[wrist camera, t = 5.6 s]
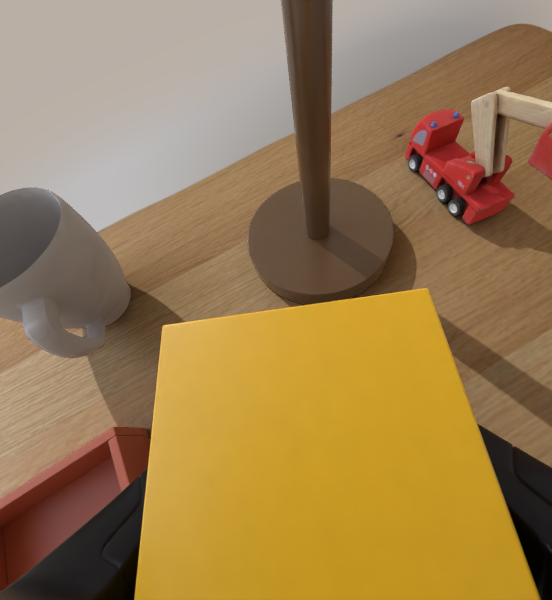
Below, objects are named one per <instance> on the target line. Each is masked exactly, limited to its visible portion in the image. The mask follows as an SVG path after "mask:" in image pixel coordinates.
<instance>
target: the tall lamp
mask: <svg viewBox="0 0 552 600" xmlns="http://www.w3.org/2000/svg"><path fill="white" fill-rule="evenodd" d="M332 3H333V0H281V5H282V14H283V24H284V34H285V42H286V53H287V62H288V72H289V81H290V90H291V100H292V109H293V119H294V128H295V138H296V147H297V157H298V166H299V176H300V182H296V183H293V184H291V185H288V186H286V187H284V188H282V189H280V190H279V191H277V192H276V193H274V194H273V195H272V196H270V197H269V198H268V199H267V200H266V201H265V202H264V203H263V204H262V205H261V206H260V207H259V209H258V210H257V211H256V213H255V215H254V216H253V219H252V221H251V223H250V226H249V230H248V238H247V242H248V250H249V254H250V257H251V259H252V262H253V264H254V266H255V269H256V271H257V273H258V275H259V277H260V278H261V280H262V281H263V282H264V283H265V285H266V286H267V287H269V288H270V289H271V290H272V291H273V292H275V293H276V294H278V295H279V296H281V297H283V298H285V299H287V300H290V301H293V302H296V303H300V304H305V305H310V304H317V303H324V302H331V301H338V300H345V299H350V298H353V297H355V296H356V295H358V294H360V293H362V292H363V291H364V290H366V289H367V288H369V287H370V286H371V285H372V284H373V283H374V282H375V281H376V279H377V278H378V277H379V276H380V274H381V273H382V271H383V269H384V267H385V265H386V262H387V259H388V256H389V253H390V250H391V248H392V244H393V238H394V228H393V222H392V219H391V216H390V213H389V212H388V210H387V208H386V206H385V205H384V204H383V202H382V201H381V200H380V199H379V198H378V197H377V196H376V195H375V194H373V193H372V192H371V191H370V190H368V189H366V188H364V187H363V186H361V185H358V184H356V183H353V182H350V181H347V180H342V179H336V178H330V164H331V87H332V9H333V4H332Z"/></svg>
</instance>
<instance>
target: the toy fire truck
mask: <svg viewBox="0 0 552 600" xmlns="http://www.w3.org/2000/svg"><path fill="white" fill-rule="evenodd" d="M471 113H472V124H473V137H474V148H475V151H474V152H472V153H471V154H469V153H468V152H467V151H466V150H465V149H463V147H461V146H460V145H459V144H458V143H457V142H455V140H456V138H457V135H458V133H459V130H460V127H461V125H462V122H463V120H464V118H463V116H462V115H461V114H459V112H457V111H455V110H441V111H436V112H433V113H430V114H428V115H427V116H425V117H424V118H423V119H422V120H421V121H420V122H419V123H418V124H417V126H416V127H415V129H414V131H413V133H412V135H411V138H410V143H409V144H408V148H407V152H406V155H405V157H406V159H407V160H409V162H408V165H409V168H410V170H411V171H413V172H416V171H418V170H419V173H420V174H421V175H422V176H423V177H424V178H425V179H426V180H427V181H428V183H429V184H430V185H432V187H433V188H434V189H435V190H437V198H438V200H439V201H441V202H447V201H449V200H450V198H451V199H452V200H451V201H450V202H449V204H448V210H449V212H450V214H451V215H453V216H458V215H461V214H462V213H464V214H463V216H462V219H463V220H464V222H465V223H466V224H468V225H470V224H473V223H475V222H478V221H480V220H482V219H485V218H487V217H489V216H492V215H494V214H497V213H499V212H501V211H502V210H503V209H504V208H505V207H506V205H507V204H508V203H509V202H510V200H511V199H512V198H514V195H515V194H514V193H513V192H511V191H510V190H509V189H508V188H507V187H506V186H505V185H504V184H503V183H501V182H500V180H501V178H502V177H503V175H504V174H505V173H506V172H507V170H508V169H509V167H510V165H511V163H512V159H511V158H510V157H509V156H507V155H506V146H507V136H508V127H509V118H512V119H515V120H518V121H521V122H524V123H527V124H530V125H533V126H537V127H540V128H543V129H545V130H544V132H543V133H542V136H541V137H540V139H539V141H538V143H537V145H536V147H535V148H534V150H533V152H532V154H531V156H530V159H529V160H528V162H529V164H530V165H531V166H533V167H535V168H536V169H537V170H539V171H540V172H541V173H542V174H544V175H545V176H547V177H548V178H550V179H551V180H552V102H549V101H544V100H539V99H536V98H532V97H529V96H524V95H520V94H517V93H512V92H511V90H510V88H509V87H504V88H502V89H499V90H497V91H495V92H491V93H488V94H486V95H484V96H482V97H479V98H477V99H475V100H473V101H472V102H471Z"/></svg>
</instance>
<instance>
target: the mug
mask: <svg viewBox="0 0 552 600" xmlns="http://www.w3.org/2000/svg"><path fill="white" fill-rule="evenodd" d="M130 297H131V290H130V287H129V285H128V283H127V282H126V280H125V277H124V274H123V272H122V269H121V267H120V265H119V263H118V261H117V259H116V257H115V256H114V254H113V252H112V251H111V250H110V248H109V247H108V245H107V244H106V243H105V241H104V240H103V239H102V238H101V237H100V235H99V234H98V233H97V232H96V231H95V230H94V229H93V228H92V227H91V225H90V224H89V223H88V222H87V221H86V220H84V218H83V217H82V216H81V215H79V214H78V213H77V212H76V211H75V210H74V209H73V208H72V207H71V206H70V205H69V204H68V203H66V202H65V201H64V200H63V199H62V198H60V197H59V196H58V195H56V194H55V193H53V192H51V191H49V190H44V189H40V188H22V189H17V190H14V191H10V192H7V193H4V194H2V195H0V317H2V318H5V319H9V320H13V321H17V322H21V323H23V328H24V332H25V334H26V335H27V337H28V338H29V339H30V340H31V341H32V342H33V343H34V344H35V345H37V346H38V347H40V348H41V349H43V350H45V351H47V352H49V353H51V354H54V355H57V356H60V357H64V358H78V357H83V356H87V355H89V354H91V353H93V352H95V351H97V350H98V349H100V348H101V347H102V346H103V345H104V344H105V342H106V332H105V326H108V325H110V324H111V323H113V322H115V321H116V320H117V319H118V318H119V317H120V316H121V315H122V314H123V313H124V312H125V310H126V308H127V307H128V304H129V302H130ZM72 328H86V329H87V337H79V336H76V335H74V334H71V333H69V332H67V331H66V330H65V329H72Z"/></svg>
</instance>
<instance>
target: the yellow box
mask: <svg viewBox="0 0 552 600" xmlns="http://www.w3.org/2000/svg"><path fill="white" fill-rule="evenodd" d="M134 600H541V599H540V596H539V593H538V590H537V588H536V585H535V582H534V579H533V577H532V574H531V571H530V568H529V565H528V563H527V560H526V557H525V554H524V552H523V549H522V546H521V543H520V541H519V538H518V535H517V532H516V530H515V527H514V524H513V521H512V518H511V516H510V513H509V510H508V507H507V505H506V502H505V499H504V496H503V494H502V491H501V488H500V485H499V483H498V480H497V477H496V474H495V471H494V469H493V466H492V463H491V460H490V458H489V455H488V452H487V449H486V447H485V444H484V441H483V438H482V436H481V433H480V430H479V427H478V424H477V422H476V419H475V416H474V413H473V411H472V408H471V405H470V402H469V400H468V397H467V394H466V391H465V388H464V386H463V383H462V380H461V377H460V375H459V372H458V369H457V366H456V364H455V361H454V358H453V355H452V353H451V350H450V347H449V344H448V341H447V339H446V336H445V333H444V330H443V328H442V325H441V322H440V319H439V317H438V314H437V311H436V308H435V306H434V303H433V300H432V297H431V294H430V292H429V290H428V289H427V288H423V289H416V290H409V291H402V292H395V293H388V294H381V295H374V296H367V297H360V298H352V299H345V300H338V301H331V302H324V303H317V304H310V305H303V306H296V307H288V308H281V309H274V310H267V311H260V312H253V313H246V314H239V315H232V316H224V317H217V318H210V319H203V320H196V321H189V322H182V323H175V324H168V325H164V326H163V327H162V335H161V345H160V355H159V364H158V374H157V384H156V394H155V403H154V413H153V423H152V432H151V442H150V452H149V462H148V471H147V481H146V491H145V500H144V510H143V520H142V530H141V539H140V549H139V559H138V568H137V578H136V588H135V598H134Z"/></svg>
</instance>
